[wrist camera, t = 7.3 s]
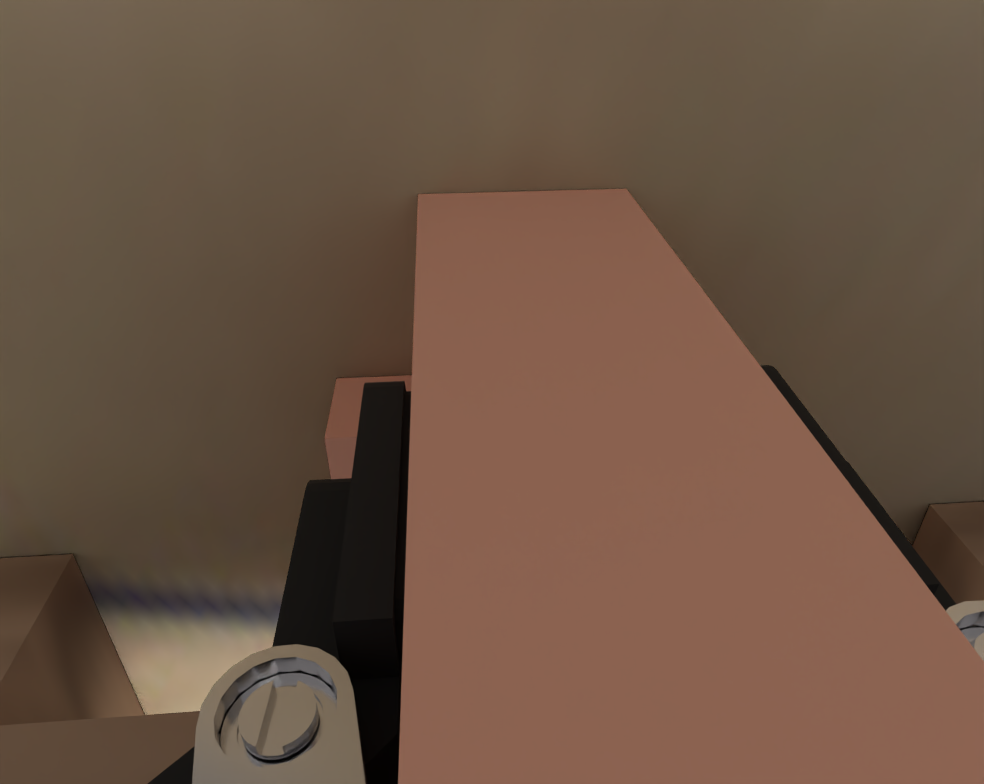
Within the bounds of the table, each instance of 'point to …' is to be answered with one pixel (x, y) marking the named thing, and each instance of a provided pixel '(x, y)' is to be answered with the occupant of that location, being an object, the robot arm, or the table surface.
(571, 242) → the block
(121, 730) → the cabinet
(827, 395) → the table surface
